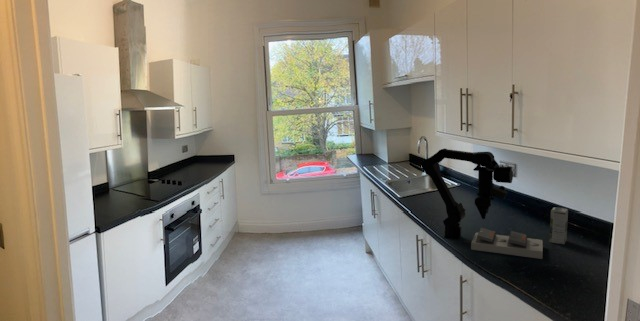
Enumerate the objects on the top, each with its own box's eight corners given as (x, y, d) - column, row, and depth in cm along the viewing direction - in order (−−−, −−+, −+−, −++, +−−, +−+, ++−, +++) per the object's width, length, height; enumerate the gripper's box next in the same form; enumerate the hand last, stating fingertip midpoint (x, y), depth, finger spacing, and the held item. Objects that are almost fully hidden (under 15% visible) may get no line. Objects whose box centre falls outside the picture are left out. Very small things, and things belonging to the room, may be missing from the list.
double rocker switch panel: (461, 248, 161) (461, 240, 160) (466, 237, 173) (466, 230, 172) (542, 259, 146) (542, 250, 145) (542, 246, 158) (542, 239, 157)
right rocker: (508, 241, 152) (509, 238, 152) (510, 233, 162) (510, 230, 161) (525, 246, 150) (525, 243, 149) (525, 237, 159) (526, 234, 159)
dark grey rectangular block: (476, 237, 158) (477, 234, 158) (480, 229, 168) (481, 227, 167) (492, 242, 156) (492, 239, 155) (494, 234, 165) (495, 231, 165)
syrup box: (551, 238, 166) (552, 206, 164) (567, 240, 163) (568, 208, 161) (549, 242, 162) (550, 209, 160) (565, 245, 158) (566, 211, 156)
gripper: (504, 186, 150) (503, 224, 152) (507, 178, 166) (506, 212, 168) (474, 185, 156) (474, 221, 158) (480, 176, 172) (480, 209, 174)
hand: (484, 216), depth 164 cm, fingers open, 9 cm apart
